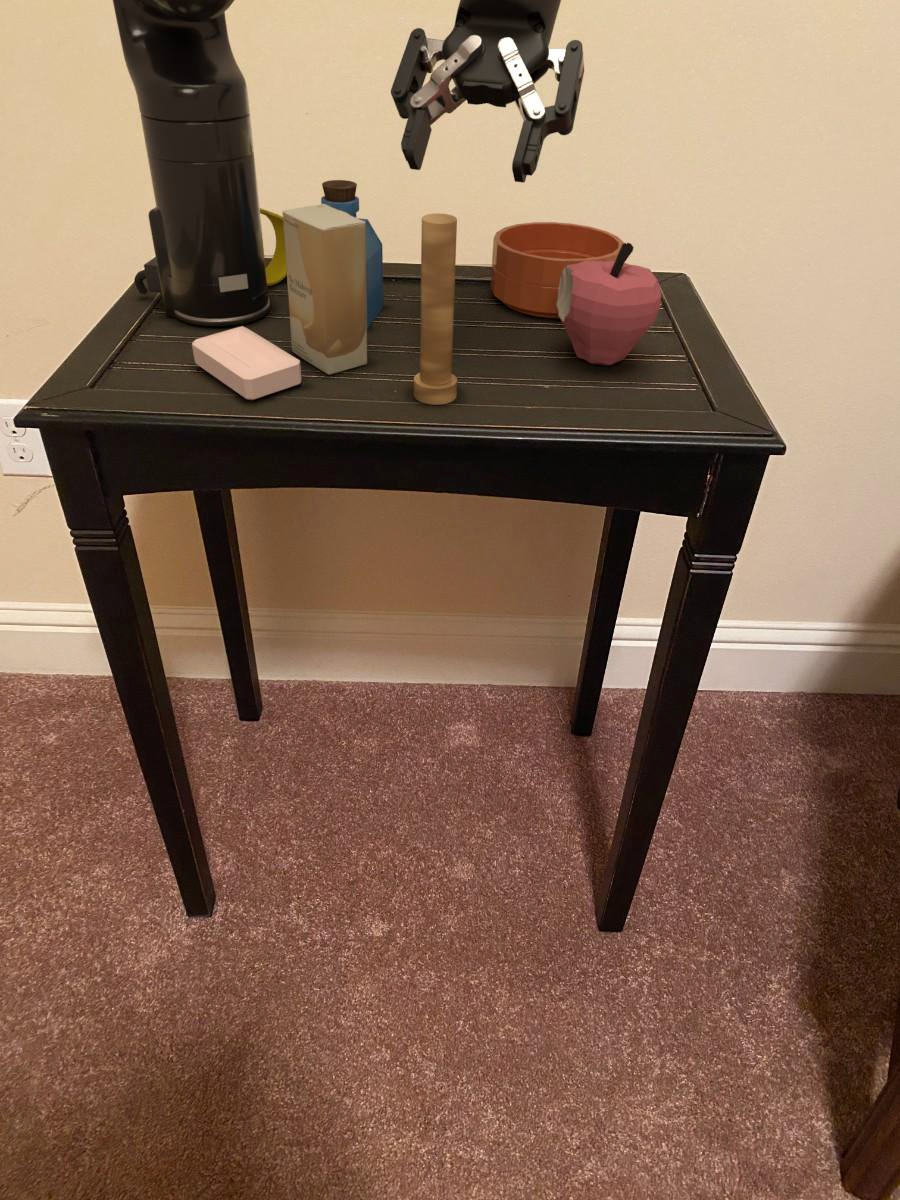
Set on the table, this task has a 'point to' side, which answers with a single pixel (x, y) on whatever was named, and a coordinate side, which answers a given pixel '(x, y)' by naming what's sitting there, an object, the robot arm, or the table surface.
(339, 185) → the blue potion bottle
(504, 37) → the robot arm
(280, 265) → the bracelet
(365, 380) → the table surface
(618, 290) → the apple
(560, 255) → the bowl
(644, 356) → the table surface
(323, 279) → the cosmetic box
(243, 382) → the soap bar
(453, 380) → the stick
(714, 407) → the table surface
